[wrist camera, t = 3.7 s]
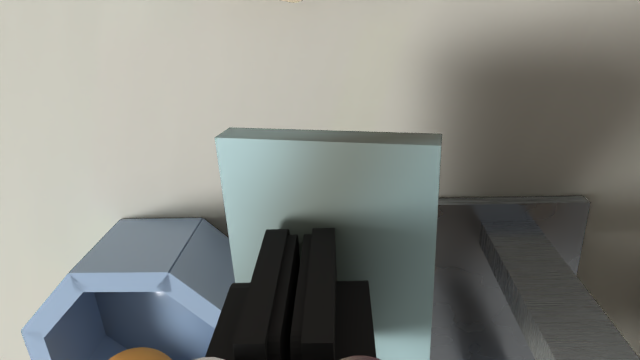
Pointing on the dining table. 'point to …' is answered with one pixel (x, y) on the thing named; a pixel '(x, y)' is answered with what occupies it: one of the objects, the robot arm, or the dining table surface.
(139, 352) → the ball
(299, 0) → the popsicle
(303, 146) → the lever
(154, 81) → the dining table surface
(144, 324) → the cup
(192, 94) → the dining table surface
